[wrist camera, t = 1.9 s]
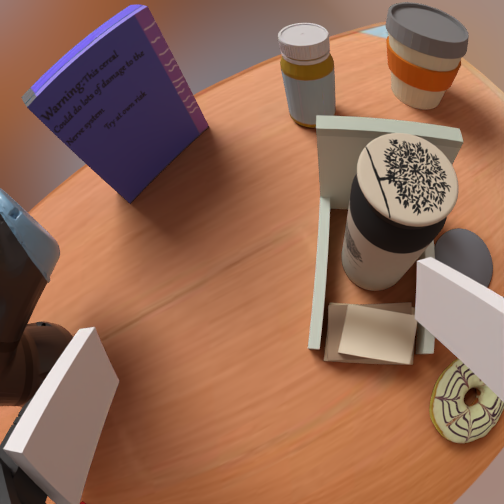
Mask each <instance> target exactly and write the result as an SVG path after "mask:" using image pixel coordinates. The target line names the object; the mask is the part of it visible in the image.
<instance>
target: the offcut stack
mask: <svg viewBox="0 0 504 504" xmlns="http://www.w3.org/2000/svg"><path fill="white" fill-rule="evenodd" d="M416 327H417V320H416V319H415V307H411V302H408V303H387V304H360V305H359V304H343V303H330V304H329V305H328V326H327V336H326V345H325V354H324V361H332V362H347V363H366V364H400V365H413V356H414V343H415V333H416Z"/></svg>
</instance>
